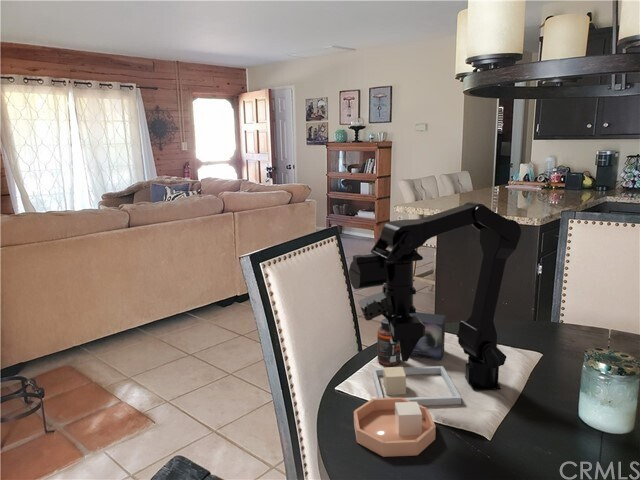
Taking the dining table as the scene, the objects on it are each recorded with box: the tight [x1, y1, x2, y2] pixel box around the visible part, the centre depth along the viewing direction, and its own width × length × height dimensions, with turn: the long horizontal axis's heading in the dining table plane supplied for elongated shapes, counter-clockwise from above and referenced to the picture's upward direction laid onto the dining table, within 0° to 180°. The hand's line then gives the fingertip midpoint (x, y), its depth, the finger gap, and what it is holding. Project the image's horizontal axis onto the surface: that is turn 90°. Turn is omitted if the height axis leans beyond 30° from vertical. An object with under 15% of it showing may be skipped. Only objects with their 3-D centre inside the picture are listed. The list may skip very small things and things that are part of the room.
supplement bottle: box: [376, 317, 401, 366], centre depth 123 cm, size 6×6×11 cm
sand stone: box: [382, 366, 407, 396], centre depth 110 cm, size 4×4×4 cm
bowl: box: [353, 397, 437, 458], centre depth 94 cm, size 15×15×3 cm
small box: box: [410, 311, 446, 361], centre depth 127 cm, size 11×6×10 cm, turn 68°
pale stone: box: [395, 402, 422, 436], centre depth 94 cm, size 4×4×4 cm
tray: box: [371, 365, 462, 406], centre depth 110 cm, size 18×15×2 cm
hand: (399, 351), depth 102 cm, fingers open, 9 cm apart
